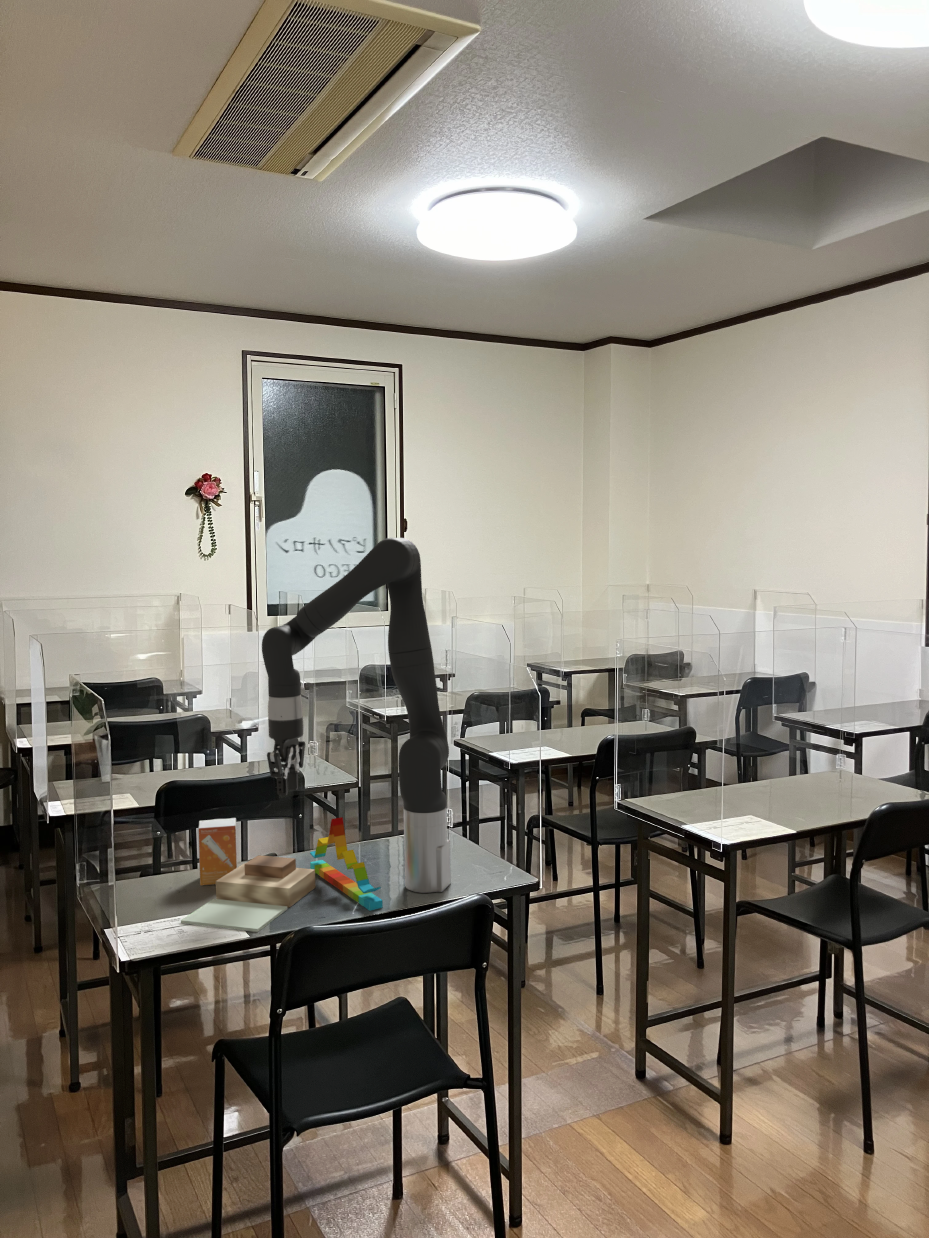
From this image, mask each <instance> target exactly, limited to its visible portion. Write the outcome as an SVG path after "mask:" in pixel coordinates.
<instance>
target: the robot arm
mask: <svg viewBox="0 0 929 1238" xmlns="http://www.w3.org/2000/svg"><path fill="white" fill-rule="evenodd" d="M421 565H422V560H421V555H420V552H419V549H418V548H417V546H416V544H414V543H413V541H411V540H410V539H408V538H405V537H389V538H388V537H386V538H384V539H382V540H380V541H378V543H376V544H375V546H374V547H373V548H371V549H370V551H369V552H367V554H366V555H365V556H364V557H363V558H362V559H361V560H360V561H359V562H358V563H357V564H356V565H355V566H354V567H353V568H352V569H350V571H348V572H347V574H346V575H344V576H343V577H341V578H340V579H339V580H338V581H336V582H335V583H334V584H332V585H331V586H329V588H327V589H325V590H324V591H322V592H321V593H320V594H318V595H317V596H316V597H314V598H313V599H311V600H310V601H309V602H307V603H306V604H305V605H304V606H302V607H301V608H300V609H299V610H298V611H297V613H296V615H295V616H294V617H293V618H291V619H290V620H289V621H288V622H286V623H284V624H283V625H279V626H274V627H270V628H269V629H268V630H266V632H265V633H264V635H263V636H262V641H261V655H262V659H263V663H264V666H265V667H264V668H265V672H266V674H267V678H268V679H267V681H268V682H267V685H268V686H267V688H268V689H267V690H268V700H267V701H268V702H267V721H268V737H269V738H270V739H272V740H273V741H274V746H273V751H269V752H267V753H266V759H267V762H268V768H269V775H270V777H271V778H275V779H276V793H277V796H287V795H288V793H289V790H294V791H296V790H298V789H299V773H300V770H301V769H302V768H303V767H304V759H305V750H306V741H303V740H299V738H302V737H303V736H304V720H303V719H304V717H303V714H304V713H303V702H302V701H303V700H302V691H301V690H302V689H301V686H302V685H301V683H302V682H301V675H300V672H299V670H297V669H296V668H295V666H294V660H293V659H294V658H293V656H294V655H296V654H298V653H300V652H301V651H303V650H304V649H305V648H306V647H308V646H309V645H310V644H311V643H312V642H313V641H314V640H315V639H316V638H317V637H318V636H319V635H321V634H323V633H324V632H325V631H327V630H328V629H330V628H332V627H333V626H334V625H335V624H337V622H339V621H340V620H342V619H343V618H344V617H345V616H346V615H347V614H348V613H350V611H351V610H352V609H353V608H354V607H355V606H356V605H358V603H359V602H361V601H362V600H363V599H364V598H366V597H367V596H368V595H370V594H371V593H373V592H374V591H376V590H378V589H380V588H382V587H384V586H385V585H387V592H388V596H389V602H390V613H389V623H388V634H387V651H388V657H389V664H390V670H391V675H392V678H393V681H394V683H395V686H396V688H397V690H398V692H399V694H400V697H401V699H402V701H403V704H404V705H405V706H404V707H405V708H406V713H407V718H408V727H409V738H408V739H407V740H406V741H404V743H403V744H402V745H401V747H400V749H399V754H398V777H399V778H398V779H399V792H400V797H401V799H402V803H403V842H404V843H403V847H404V851H403V852H404V886H405V889H407V890H409V891H411V892H415V893H420V894H421V893H427V894H428V893H435V892H436V893H437V892H439V893H441V892H442V893H443V892H444V891H445V890H446V888H448V886H450V884H451V883H452V872H451V871H452V868H451V865H452V864H451V861H452V859H451V858H452V857H451V840H450V839H448V822H447V821H448V819H447V816H448V815H447V795H446V793H445V792H444V791H443V789H442V787H443V786H442V772H441V771H442V769H443V768H444V767H445V765H446V764H447V762H448V760H449V758H450V757H449V756H450V749H449V748H450V747H449V743H448V742H449V741H448V739H447V735H446V730H445V727H444V722H443V719H442V715H441V710H440V705H439V697H438V696H439V695H438V687H437V679H436V673H435V664H434V655H433V648H432V644H431V643H432V642H431V637H430V632H429V627H428V625H429V624H428V620H427V615H426V611H425V610H426V609H425V606H424V605H425V604H424V598H423V586H422V585H423V583H422V566H421Z"/></svg>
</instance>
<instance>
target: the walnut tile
mask: <svg viewBox="0 0 929 1238" xmlns="http://www.w3.org/2000/svg"><path fill="white" fill-rule="evenodd" d="M296 860H297V858H295V857H294V858H293V857H283V856H282V857H281V856H271V855H256V856H255V857H253V858H252V859H250V860H249V861H247V862H244V863H245V864H244V863H243V864H244V867H245V875H250V876H260V877H271V878H281V879H283V878H284V877H286V876H287V875H289V874H290V873H292V872H293V871H294V870H296V868H297V863H296V862H297V861H296Z"/></svg>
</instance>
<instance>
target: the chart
mask: <svg viewBox="0 0 929 1238" xmlns="http://www.w3.org/2000/svg"><path fill="white" fill-rule="evenodd" d="M331 844H334V845H335V853H336V860H337V861H339V860H344V863H345V866H346V869H347V870H352V869H353V873H354V876H355V881H354V880H353V879H351V878H350V877H348V876H347V875H345V874H344V873H342V872H341V871H339V870H338V869H336V868H335V867H333V866H331V865H330V864H329V863H328V862H326V861H325V860H323V859H319V860H314V861H310V862H309V865H310V867H309V869H315V875H316V874H317V875H318V876H320V878H322V879H324V880H325V881H327V882H328V884H331V885H332V886H333V887H335V888H336V889H338V890H340V891H341V892H342V893H344V894H345V895H346V896H348V897H349V898H351V899H352V900H354V901H355V902H357V904H359V905H361V906H362V907H363V908H365V909H366V910H368V911H369V912H370V911H374V910H378V909H383V905H384V904H383V899H381V898H380V897H379V896H377V895H376V894H374V892H376V891H378V890H381V886H378V887H374V886H373V885H371V883H370V880H369V876H368V872H367V868H366V865H365V862H364V861H363V862H358V860H357V857H356V854H355V850H354V849H348V845H347V844H348V843H347V837H346V831H345V824H344V818H343V816H341V817H336V818H331V821H330V826H329V832H328V836H326V837H320V838H318V839H317V843H316V848H315V850H314V851H310V852H309V854H310V855H311V857H313V859H317V858H322V857H323V858H324V857H326V854H327V851H328V849H327V848H328V846H329V845H331Z"/></svg>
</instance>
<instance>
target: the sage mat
mask: <svg viewBox="0 0 929 1238" xmlns="http://www.w3.org/2000/svg"><path fill="white" fill-rule="evenodd" d="M287 910H288V907H287V906H278V905H268V904H259V903H249V902H240V901H230V900H221V899H216V898H212V899H211V900H210V901H208V902H206V903H204V904H203V905H202V906H201V907H198V909H195V910H194V911H193V912H192V913H190V914H188V915H187V916H185V917H183V918H182V919H181V920H180V923H181V924H186V925H194V926H200V927H202V926H203V927H211V928H219V929H220V928H221V929H229V930H236V931H237V930H238V931H246V932H253V933H258V932H260V931H261V930H263V929H264V928H265V927H266V926H268V925H269V924H270V923H271V922H273V921H274V920H275V919H277V918H278V917H279V916H281V915H282V914H283V913H285V912H286V911H287Z"/></svg>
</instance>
